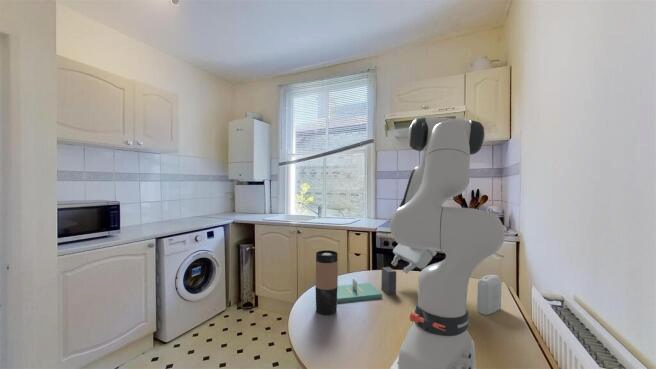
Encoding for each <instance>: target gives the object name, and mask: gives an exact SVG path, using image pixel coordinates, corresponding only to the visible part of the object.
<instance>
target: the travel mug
mask: <svg viewBox="0 0 656 369" xmlns="http://www.w3.org/2000/svg"><path fill="white" fill-rule="evenodd" d="M315 256H316V257H315V310H316V313H317V314H319V315H322V316H331V315H334V314H335V313H336V312H337V309H338V308H337V307H338V303H337V288H338V286H339V285H338V284H339V283H338V281H339V280H338V278H339V274H338V269H339V265H338V256H339V255H338V251H335V250H327V249H326V250H318V251H317V252H316V253H315Z"/></svg>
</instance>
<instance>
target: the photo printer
mask: <svg viewBox="0 0 656 369" xmlns="http://www.w3.org/2000/svg"><path fill="white" fill-rule="evenodd" d="M502 285H503V284H502V280H501V277H499V276H498V275H495V274H488V275H485V276H482V277H481V278H480V279H479V281H478V282H477V295H476V296H477V298H476V300H477V302H476V306H477V307H476V308H477V310H476V311H477V312H478V313H480V314H482V315H485V316H487V315H492V314H493V313H496V312H497V311H500V310H501V308H502Z"/></svg>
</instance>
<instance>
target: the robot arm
mask: <svg viewBox="0 0 656 369" xmlns="http://www.w3.org/2000/svg"><path fill="white" fill-rule="evenodd" d="M485 138H486V134H485V127H484V125H483V124H482V123H481V122H480V121H477V120H472V119H469V120H466V119H461V118H460V119H459V118H449V117H429V118H428V117H427V118H426V117H419V118H418V117H417V118H415V119H414V120H412V121H411V124H410V125H409V127H408V130H407V141H408V144H409V147H410V148H411V149H412V150H414V151H418V152H422V155H421V160H420V164H419V165H417V166H415V168H413V170H412V171H411V174H410V176H409V179H408V182H407V185H406V188H405V191H404V195H403V197H402V200H401V202H400V204H399V205H398V206H399V207H397V209H396V210H395V211H393V213H392V215H391V218H390V222H389V230H390V234H391V237H393V239H394V241H395V242H396V243H397V245H396V246H394V248H393V250H392V253H393V254H394V257H393V260H392V261H391V264H392V266H394V267H397V266H398V264H399V263H398V262H399V261H400V260H403V261H406V262H407V263H409V264H408V265H407V266H404V267H403V268H402V271H403V272H404V273H405V274H409V272H410V271H412V270H414V269H415V268H419V269H420V270H421V271H420V273H419V275H418V280H417V281H418V282H417V284H418V285H417V291H418V292H417V302H416V305H415V308H414V312H413V311H411V312H410V315H409V317H408V318H409V322H410V321H411V322H412V324H411V326H410V329H409V330H408V332H407V334H406V336H405V338H404V340H403V343H402V344H401V347H400V349H399V352H398V353H399V354H398V355H397V357H396V359H395V360H394V362H393V363H392V364H391V366H390V368H389V369H477V368H476V348H475V341H474V339H473V338H472V336H471V335H470V333H469V330H468V329H469V321H470V318H469V311H468V310H467V302H468V301H467V300H468V299H467V298H468V290H469V283H470V279H471V276H472V273H473V272H474V270H475V269H476V268H477V267H478V265H479V264H480V263H481V262H483V261H484V260H486V259H487V258H489V257H491V256H493V255H495V253H497V252H499V250H500V249H501V248H502V246H503V244H504V242H505V238H506V237H505V236H506V233H505V231H506V230H505V227H504V225H503V222H502V220H501V219H500V217H498V215H497V214H496V213H494V212H491V211H487V210H482V209H477V208H472V207H456V206H455V207H453V206H443V205H444V203H445V202H446V201H448V200H449V199H452V198H455V197H457V196H459V195H461V194H462V193H463V192H465V191H466V189H467V188H468V186H469V184H470V167H471V165H470V164H471V163H470V162H471V161H470V160H471V155H475V154H477V153H478V152H480V150H481V149H482V147H483V145H484V143H485ZM438 252H441V253H444V254H445V258H444V259H443V260H441V261H438V262H435V263H432V264H430V263H431V261H432V259H433V257H435V256H436V255H437V253H438ZM428 264H429V265H428Z"/></svg>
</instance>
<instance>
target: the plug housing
mask: <svg viewBox="0 0 656 369" xmlns="http://www.w3.org/2000/svg"><path fill="white" fill-rule="evenodd" d="M381 290H382V291H383V293H385V294H386V295H388V296H390V295H396V294H397V271H396V270H394V269H393V268H391V267H390V266H386V267H381Z"/></svg>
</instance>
